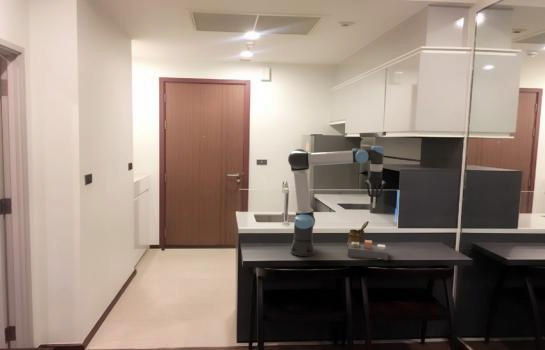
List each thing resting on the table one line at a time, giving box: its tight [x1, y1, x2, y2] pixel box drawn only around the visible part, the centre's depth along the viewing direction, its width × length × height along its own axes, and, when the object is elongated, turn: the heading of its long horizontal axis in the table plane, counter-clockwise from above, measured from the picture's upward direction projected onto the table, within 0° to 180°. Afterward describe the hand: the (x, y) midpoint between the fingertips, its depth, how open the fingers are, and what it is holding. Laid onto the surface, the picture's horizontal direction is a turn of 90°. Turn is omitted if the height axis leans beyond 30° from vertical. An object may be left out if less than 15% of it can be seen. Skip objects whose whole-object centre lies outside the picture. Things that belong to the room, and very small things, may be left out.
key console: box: [347, 243, 389, 259], centre depth 253 cm, size 24×12×5 cm, turn 77°
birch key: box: [351, 242, 359, 248], centre depth 255 cm, size 4×4×5 cm
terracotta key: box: [364, 239, 373, 249], centre depth 253 cm, size 4×4×5 cm
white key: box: [376, 243, 386, 250], centre depth 251 cm, size 4×4×5 cm
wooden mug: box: [346, 221, 370, 248], centre depth 268 cm, size 9×14×18 cm, turn 87°
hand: (373, 207), depth 256 cm, fingers closed
